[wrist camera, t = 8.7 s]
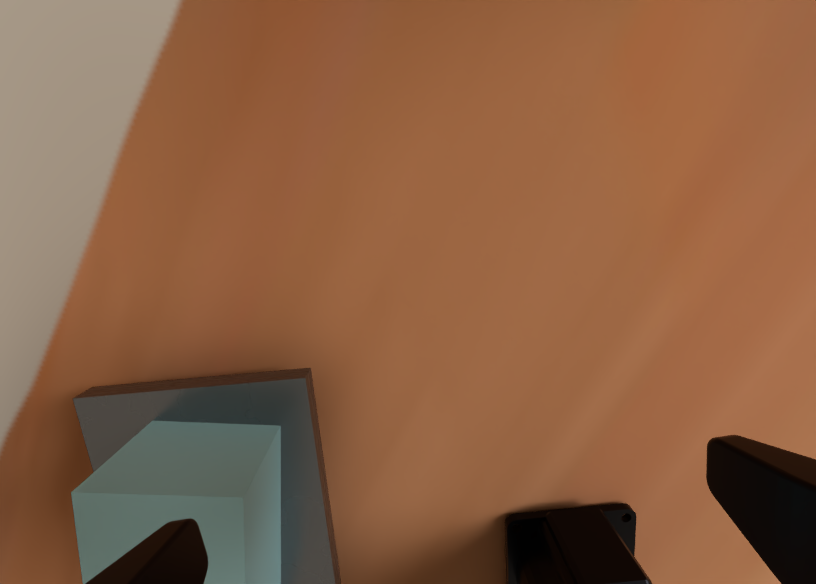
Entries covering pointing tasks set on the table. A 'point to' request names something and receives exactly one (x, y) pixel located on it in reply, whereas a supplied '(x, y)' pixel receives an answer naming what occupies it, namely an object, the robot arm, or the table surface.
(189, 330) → the table surface
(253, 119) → the table surface
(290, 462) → the stand
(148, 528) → the housing
